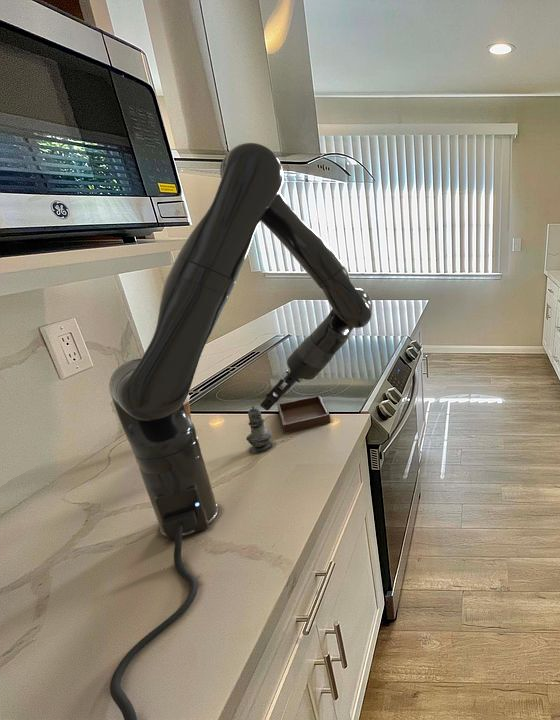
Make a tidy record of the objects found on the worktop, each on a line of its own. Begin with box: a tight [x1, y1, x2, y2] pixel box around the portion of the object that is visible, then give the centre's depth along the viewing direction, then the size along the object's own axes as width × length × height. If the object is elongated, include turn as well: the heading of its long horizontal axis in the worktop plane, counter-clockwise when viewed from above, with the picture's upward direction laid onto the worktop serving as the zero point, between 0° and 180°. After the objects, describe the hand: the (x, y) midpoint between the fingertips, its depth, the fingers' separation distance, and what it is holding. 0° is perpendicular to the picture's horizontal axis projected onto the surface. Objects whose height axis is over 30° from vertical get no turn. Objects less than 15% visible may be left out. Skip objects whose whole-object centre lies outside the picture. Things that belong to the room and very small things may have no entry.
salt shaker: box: [245, 405, 274, 454], centre depth 100 cm, size 6×6×12 cm
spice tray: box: [276, 394, 331, 434], centre depth 117 cm, size 15×12×3 cm
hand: (272, 399), depth 98 cm, fingers open, 8 cm apart
